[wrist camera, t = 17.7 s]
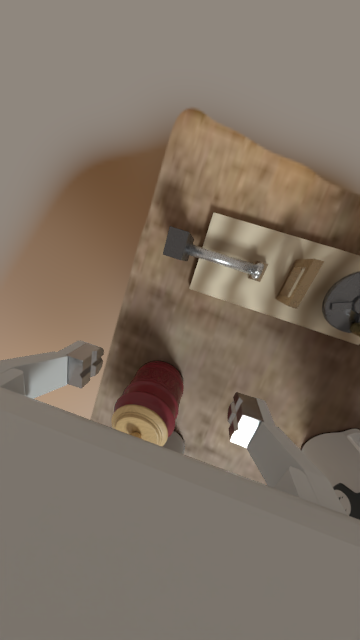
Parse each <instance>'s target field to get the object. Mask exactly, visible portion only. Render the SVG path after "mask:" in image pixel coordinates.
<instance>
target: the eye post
mask: <svg viewBox="0 0 360 640" xmlns="http://www.w3.org/2000/svg"><path fill="white" fill-rule="evenodd" d="M323 263H324V261H321V260H318V259H298V260H295V262H294V264H293V266H292V268H291V270H290V272H289V274H288V276H287V278H286V279H285V281H284V283H283V285H282V287H281V289H280V291H279V293H278V295H277V297H276V300H278V301H280V302H281V303H283V304H285V305H287V306H289V307H292V308H295V309H297V308H298V306H299V305H300V303H301V301H302V299H303V298H304V296H305V294H306V292H307V291H308V289H309V287H310V286H311V284H312V282H313V280H314V279H315V277H316V275H317V274H318V272H319V270H320V268H321V267H322V265H323ZM302 269H305V270H304V272H303V274H302V276H301V278H300V279H299V281H298V283H297V285H296V287H295V288H294V290H293V292H292V294H291V296H290V297H288V295H289V293H290V291H291V289H292V287H293V285H294V283H295V282H296V280H297V278H298V276H299V274H300V272H301V271H302Z"/></svg>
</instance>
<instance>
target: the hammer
mask: <svg viewBox="0 0 360 640" xmlns="http://www.w3.org/2000/svg"><path fill="white" fill-rule="evenodd" d="M193 242H194V238H193V237H192V235H191V234H190V233H189V232H187V231H184V230H180V229H177V228H174V227H171V226H170V227H169V231H168V236H167V240H166V244H165V248H164V252H163V255H166V256H170V257H173V258H176V259H179V260H183V261H188V258H189V255H191V256H194V257H197V258H200V259H203V260H206V261H209V262H213V263H216V264H219V265H222V266H225V267H228V268H231V269H235V270H238V271H241V272H244V273H247V274H250V275H251V276H252V278H253V279H258V278H259V277H260V275H261V273H262V271H263V269H264V264H263V263H257V264H253V263H250V262H247V261H243V260H240V259H237V258H234V257H231V256H228V255H224V254H221V253H218V252H215V251H212V250H208V249H205V248H202V247H199V246H196V245H193Z"/></svg>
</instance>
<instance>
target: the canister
mask: <svg viewBox="0 0 360 640" xmlns="http://www.w3.org/2000/svg"><path fill="white" fill-rule="evenodd" d="M182 394H183V379H182V376H181V375H180V373H179V372H178V370H177V369H176V368H174V367H173V366H172V365H170V364H168V363H165V362H162V361H152V362H149V363H146V364H145V365H144V366H142V367H141V368H140V369H139V370H138V372H137V373H136V375H135V377H134V379H133V380H132V381H131V383H130V384H129V386H127V387H126V389H125V390H124V392H123V395H122V396H121V397H120V398H119V399H118V400H117V402H116V404H115V407H114V414H113V416H112V428H113V429H116V430H119V431H121V432H124V433H127V434H130V435H132V436H135V437H138V438H140V439H143V440H146V441H148V442H151V443H154V444H157V445H159V446H163V445H164V444H165V443H166V441H167V438H168V437H170V436H171V434H172V433H173V431H174V428H175V419H176V418H177V415H178V407H179V403H180V399H181V397H182Z"/></svg>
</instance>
